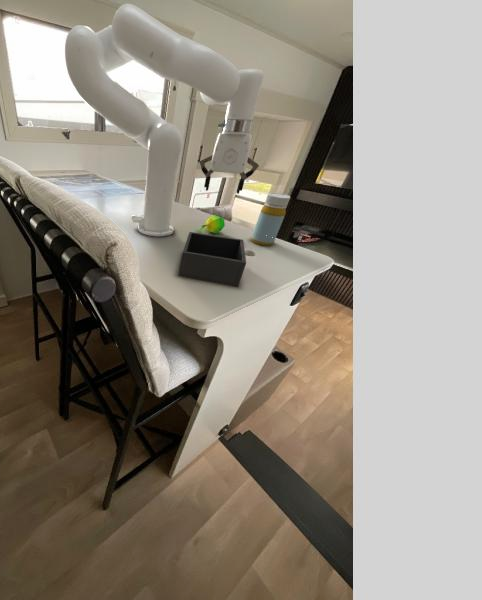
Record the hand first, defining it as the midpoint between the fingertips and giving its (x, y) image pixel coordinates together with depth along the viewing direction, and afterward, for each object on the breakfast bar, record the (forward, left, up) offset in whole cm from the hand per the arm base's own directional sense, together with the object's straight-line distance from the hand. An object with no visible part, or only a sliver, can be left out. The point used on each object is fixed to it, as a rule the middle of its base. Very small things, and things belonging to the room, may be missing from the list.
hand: (222, 191), depth 82 cm
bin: (0, -28, -14) cm, 31 cm away
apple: (-1, 0, -14) cm, 14 cm away
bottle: (+17, -2, -14) cm, 22 cm away
